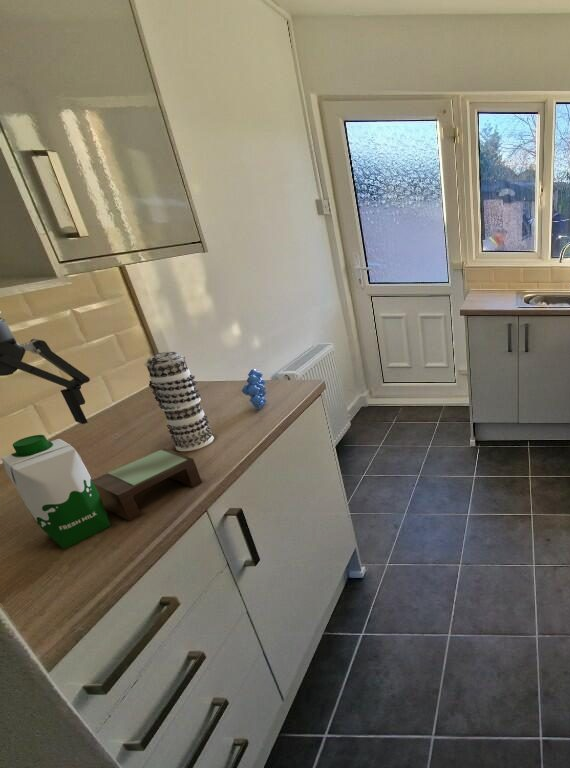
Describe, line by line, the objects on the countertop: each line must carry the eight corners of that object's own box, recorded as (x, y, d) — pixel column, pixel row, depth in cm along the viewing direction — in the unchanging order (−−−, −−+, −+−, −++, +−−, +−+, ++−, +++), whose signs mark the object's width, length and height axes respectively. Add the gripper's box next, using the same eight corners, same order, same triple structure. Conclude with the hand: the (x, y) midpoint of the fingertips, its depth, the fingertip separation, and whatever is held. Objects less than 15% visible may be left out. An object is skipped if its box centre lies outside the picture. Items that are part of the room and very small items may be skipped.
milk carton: (100, 510, 86) (57, 426, 78) (119, 525, 82) (76, 438, 74) (41, 537, 79) (-12, 448, 71) (59, 555, 75) (4, 462, 67)
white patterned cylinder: (172, 456, 105) (135, 364, 95) (175, 440, 112) (141, 353, 102) (215, 445, 110) (184, 356, 100) (215, 431, 117) (186, 346, 107)
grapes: (250, 400, 135) (240, 366, 131) (273, 397, 137) (264, 363, 133) (242, 416, 125) (230, 379, 120) (267, 412, 127) (257, 376, 122)
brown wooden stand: (101, 506, 88) (88, 480, 85) (173, 471, 99) (164, 447, 97) (129, 521, 83) (116, 494, 81) (202, 482, 95) (192, 457, 92)
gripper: (-171, 347, 52) (-74, 484, 61) (82, 306, 73) (128, 412, 82) (-186, 340, 55) (-91, 472, 64) (61, 302, 76) (108, 406, 84)
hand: (32, 439), depth 73 cm, fingers open, 13 cm apart
